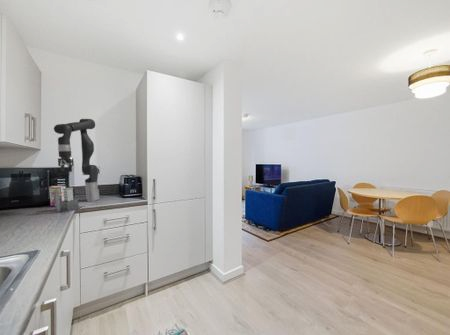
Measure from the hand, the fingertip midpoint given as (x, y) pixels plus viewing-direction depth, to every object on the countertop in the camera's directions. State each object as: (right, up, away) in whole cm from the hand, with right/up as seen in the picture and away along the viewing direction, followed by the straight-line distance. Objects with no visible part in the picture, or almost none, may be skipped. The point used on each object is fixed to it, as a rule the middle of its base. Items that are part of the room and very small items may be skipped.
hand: (66, 171), depth 151 cm
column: (+1, -29, +2) cm, 29 cm away
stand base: (+1, -30, +2) cm, 30 cm away
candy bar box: (-18, -29, +15) cm, 38 cm away
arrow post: (-2, -30, -4) cm, 31 cm away
